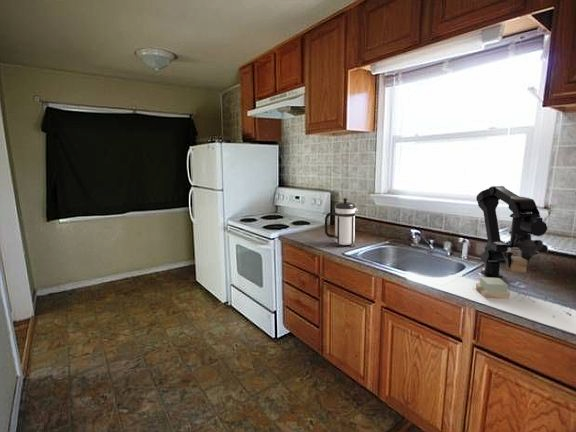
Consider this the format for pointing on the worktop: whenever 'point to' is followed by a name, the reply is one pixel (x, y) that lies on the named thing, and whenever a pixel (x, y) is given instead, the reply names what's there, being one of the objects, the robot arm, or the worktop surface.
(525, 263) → the walnut cube
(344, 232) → the coffee press
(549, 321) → the worktop surface
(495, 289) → the sage top block
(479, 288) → the birch base block
